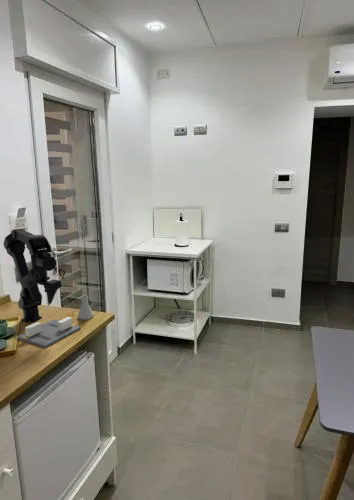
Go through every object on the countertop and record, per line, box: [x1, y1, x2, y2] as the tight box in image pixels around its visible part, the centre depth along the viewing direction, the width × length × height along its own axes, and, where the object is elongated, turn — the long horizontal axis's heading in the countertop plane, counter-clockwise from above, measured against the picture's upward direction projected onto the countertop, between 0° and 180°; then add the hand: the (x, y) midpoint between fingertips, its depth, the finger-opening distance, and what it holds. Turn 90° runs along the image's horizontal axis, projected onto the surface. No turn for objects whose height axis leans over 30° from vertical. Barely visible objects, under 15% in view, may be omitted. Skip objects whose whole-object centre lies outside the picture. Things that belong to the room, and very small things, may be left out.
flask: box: [77, 295, 94, 321], centre depth 165 cm, size 7×7×10 cm
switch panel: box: [17, 319, 82, 349], centre depth 149 cm, size 16×19×1 cm
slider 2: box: [57, 316, 74, 331], centre depth 151 cm, size 2×6×4 cm, turn 151°
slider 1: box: [24, 321, 42, 337], centre depth 146 cm, size 2×6×4 cm, turn 151°
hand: (42, 301), depth 152 cm, fingers open, 9 cm apart
